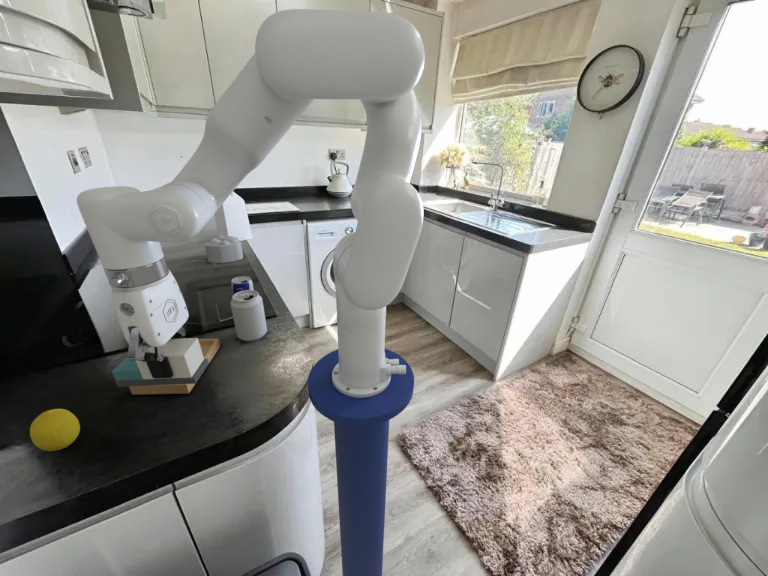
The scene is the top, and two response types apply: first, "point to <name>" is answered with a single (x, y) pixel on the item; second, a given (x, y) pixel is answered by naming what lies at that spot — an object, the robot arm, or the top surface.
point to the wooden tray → (208, 351)
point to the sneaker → (182, 361)
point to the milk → (233, 218)
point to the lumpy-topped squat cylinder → (223, 249)
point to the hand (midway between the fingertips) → (172, 365)
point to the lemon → (54, 429)
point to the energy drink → (241, 284)
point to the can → (248, 315)
